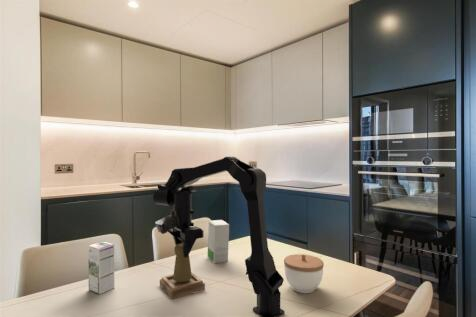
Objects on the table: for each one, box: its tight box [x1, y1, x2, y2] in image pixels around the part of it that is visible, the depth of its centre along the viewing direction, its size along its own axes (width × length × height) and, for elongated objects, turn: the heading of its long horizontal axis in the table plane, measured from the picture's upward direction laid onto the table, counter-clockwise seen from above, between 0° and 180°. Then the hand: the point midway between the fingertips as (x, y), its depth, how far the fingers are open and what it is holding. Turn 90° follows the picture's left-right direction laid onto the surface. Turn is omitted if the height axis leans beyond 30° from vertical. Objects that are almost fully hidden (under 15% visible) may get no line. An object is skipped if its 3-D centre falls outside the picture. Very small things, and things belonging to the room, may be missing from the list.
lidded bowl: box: [283, 253, 325, 294], centre depth 96 cm, size 13×13×11 cm
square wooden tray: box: [159, 271, 206, 300], centre depth 96 cm, size 11×11×3 cm
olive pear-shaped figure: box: [172, 243, 192, 282], centre depth 96 cm, size 6×6×11 cm
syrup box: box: [87, 241, 115, 295], centre depth 94 cm, size 6×6×14 cm
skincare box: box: [207, 219, 230, 264], centre depth 122 cm, size 8×7×16 cm
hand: (182, 254), depth 96 cm, fingers closed on olive pear-shaped figure, 5 cm apart
